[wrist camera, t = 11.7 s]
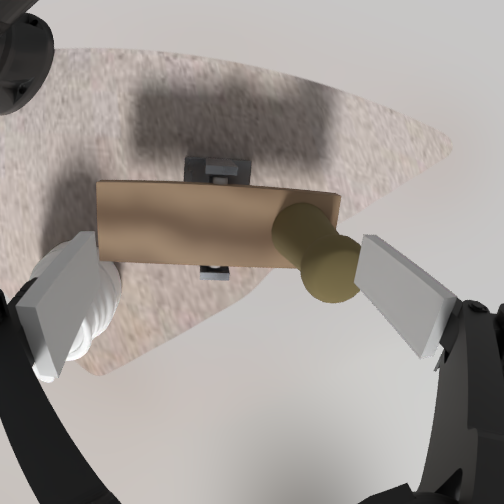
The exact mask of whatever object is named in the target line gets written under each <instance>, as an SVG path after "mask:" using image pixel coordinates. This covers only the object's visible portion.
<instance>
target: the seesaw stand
mask: <svg viewBox="0 0 504 504" xmlns="http://www.w3.org/2000/svg"><path fill="white" fill-rule="evenodd" d="M251 162H252V161H248V160H235V159H220V158H202V157H185V167H184V182H203V183H213V177H215V176H221V177H227V178H228V183H227V184H238V185H249V183H250V172H251ZM229 274H230V273H229V268H228V266H221V267H220V268H211V267H209V266H205V265H200V280H229Z"/></svg>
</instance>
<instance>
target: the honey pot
mask: <svg viewBox="0 0 504 504" xmlns="http://www.w3.org/2000/svg"><path fill="white" fill-rule="evenodd" d="M69 242H70V241H67V242H62V243H61V244H59V245H58V246H56V247H54V248H53V249H52V250H51V251H50V252H49V253H48V254H46V255H45V257H43V258H42V259H41V260H40V261H39V262H38V264H37V265H36V266H35V267H34V269H33V271H32V274H31V277H30V279H29V281H30V280H31V279H33V278H34V277H39V276H40V275H41V274H42V273H43V271H44V270H45V269H46V268H47V267H48V266H49V265H50V263H51V262H52V261H53V260H54V259H55V258H56V257H57V256H58V254H59V253H60V252H61V251H62V250H63V249H64V248H65V247H66V246H67V245H68V244H69ZM96 249H97V258H98V266H99V274H100V281H101V285H100V287H99V289H98V291H97V293H96V295H95V297H94V299H93V301H92V304H91V306H90V308H89V310H88V312H87V314H86V316H85V318H84V320H83V322H82V325H81V327H80V329H79V331H78V333H77V335H76V338H75V340H74V342H73V344H72V347H71V349H70V351H69V354H68V356H67V358H66V361H69V360H75V359H78V358H80V357H82V356H83V355H84V354H85V353H86V352H87V351H88V349H89V347H90V346H91V341H92V340H93V339H94V338H95V337H96V336H98V335H99V334H101V333H102V332H103V331H104V330H105V329H106V328H107V327H108V325H109V323H110V322H111V320H112V317H113V315H114V313H115V311H116V308H117V306H118V304H119V301H120V297H121V293H122V287H121V279H120V276H119V272H118V270H117V268H116V266H115V265H114V263H113V262H112V261H100V259H99V248H98V247H96ZM33 371H34V373H35V375H36V377H37V378H39V379H40V380H41V381H43V382H48V383H50V382H52V381H53V380H54V378H55V377H50V376H43V375H40V374H39V372H38V369H37V367H36V364H34V366H33Z"/></svg>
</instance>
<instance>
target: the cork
mask: <svg viewBox="0 0 504 504" xmlns="http://www.w3.org/2000/svg"><path fill="white" fill-rule="evenodd" d="M271 233H272V241H273V244H274V246H275V248H276V249H277V251H278V252H279V253H280V254H281V255H282V256H283V257H285V258H286V259H287V260H288V261H289V262H290V263H291V264H293V265H294V266H295V267H296V268H297V269H298V270H300V271H301V278H302V281H303V284H304V286H305V288H306V289H307V291H308V292H309V293H310V294H311V295H312V296H313V297H315V298H316V299H318V300H320V301H322V302H326V303H339V302H344V301H346V300H348V299H350V298H352V297H354V296H355V295H356V294H357V293H358V292H359V291H360V289H359V288H358V287H357V286H356V285H355V283H354V279H355V275H356V270H357V265H358V260H359V255H360V251H361V246H360V244H358V243H357V242H356V241H354V240H353V239H351V238H350V237H348V236H343V235H339V233H338V232H337V231H336V229H335V228H334V226H333V225H332V224H331V222H330V221H329V220H328V218H327V217H326V216H325V214H324V213H323V212H322V211H321V209H319V208H318V207H316V206H315V205H313V204H309V203H305V202H304V203H295V204H292V205H290V206H288V207H286V208H285V209H284V210H282V211H281V212H280V213H279V214H278V216H277V217H276V219H275V220H274V223H273V226H272V230H271Z"/></svg>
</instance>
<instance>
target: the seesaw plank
mask: <svg viewBox="0 0 504 504" xmlns="http://www.w3.org/2000/svg"><path fill="white" fill-rule="evenodd" d="M227 183H228V178H227V177H221V176H215V177H213V183H203V182H180V181H147V180H100V181H98V182H96V198H97V229H98V246H99V259H100V261H112V262H133V263H156V264H180V265H205V266H209V267H211V268H220V267H221V266H233V267H263V268H296V267H295V266H294V265H293V264H291V263H290V262H289V261H288V260H287V259H286V258H285V257H283V256H282V255H281V254H280V253H279V252H278V251H277V249H276V248H275V246H274V244H273V241H272V233H271V230H272V226H273V223H274V220H275V219H276V217H277V216H278V214H279V213H280V212H281V211H282V210H284V209H285V208H286V207H288V206H290V205H292V204H295V203H304V202H305V203H309V204H313V205H315V206H316V207H318V208H319V209H321V211H322V212H323V213H324V214H325V216H326V217H327V218H328V220H329V221H330V222H331V224H332V225H333V226H334V228H335V229H336V226H337V220H338V214H339V207H340V201H341V196H340V195H338V194H336V193H329V192H320V191H310V190H300V189H289V188H278V187H265V186H252V185H238V184H227Z"/></svg>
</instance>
